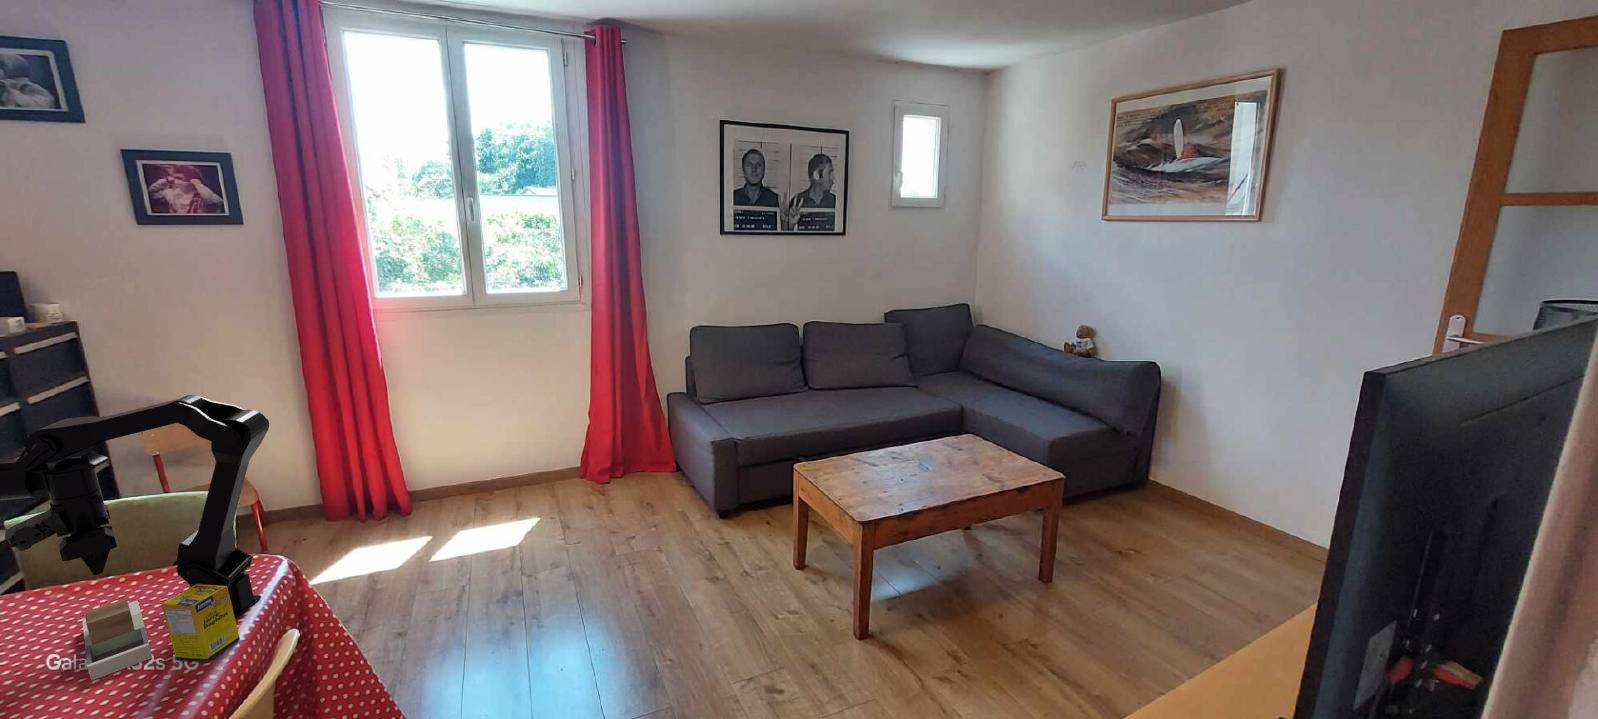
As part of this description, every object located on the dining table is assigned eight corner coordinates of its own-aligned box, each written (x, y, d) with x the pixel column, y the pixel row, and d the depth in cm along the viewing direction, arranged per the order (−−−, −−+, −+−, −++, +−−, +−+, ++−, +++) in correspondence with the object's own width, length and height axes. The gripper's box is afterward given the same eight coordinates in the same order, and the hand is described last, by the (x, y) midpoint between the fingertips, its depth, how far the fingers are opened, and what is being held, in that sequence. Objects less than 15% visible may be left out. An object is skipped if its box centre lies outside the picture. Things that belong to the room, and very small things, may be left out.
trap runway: (84, 622, 116) (81, 610, 116) (139, 604, 122) (135, 592, 121) (91, 680, 102) (87, 667, 102) (152, 657, 107) (148, 644, 107)
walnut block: (91, 632, 110) (84, 611, 109) (132, 618, 114) (126, 598, 113) (92, 644, 107) (86, 623, 106) (134, 630, 110) (129, 609, 109)
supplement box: (241, 640, 112) (228, 584, 109) (207, 663, 106) (192, 606, 103) (210, 637, 112) (197, 582, 110) (175, 661, 107) (160, 603, 104)
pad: (87, 644, 111) (83, 631, 110) (144, 624, 116) (140, 612, 115) (89, 659, 107) (85, 646, 106) (147, 638, 112) (144, 626, 111)
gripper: (3, 492, 109) (28, 573, 113) (-1, 527, 97) (27, 616, 101) (98, 472, 117) (119, 548, 121) (105, 502, 106) (127, 586, 109)
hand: (98, 573), depth 113 cm, fingers closed
